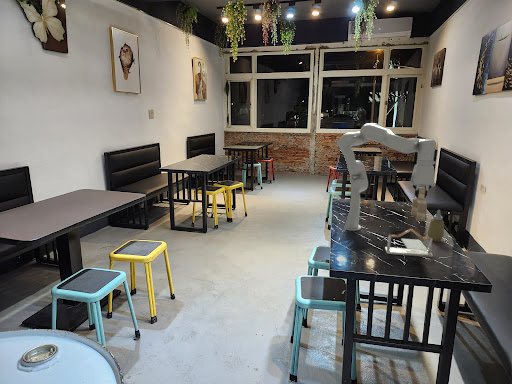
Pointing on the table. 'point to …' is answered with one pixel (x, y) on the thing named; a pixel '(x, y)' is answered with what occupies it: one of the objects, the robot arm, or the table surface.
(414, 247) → the pad
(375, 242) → the table surface
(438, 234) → the squeeze bottle
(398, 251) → the wire
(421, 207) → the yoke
